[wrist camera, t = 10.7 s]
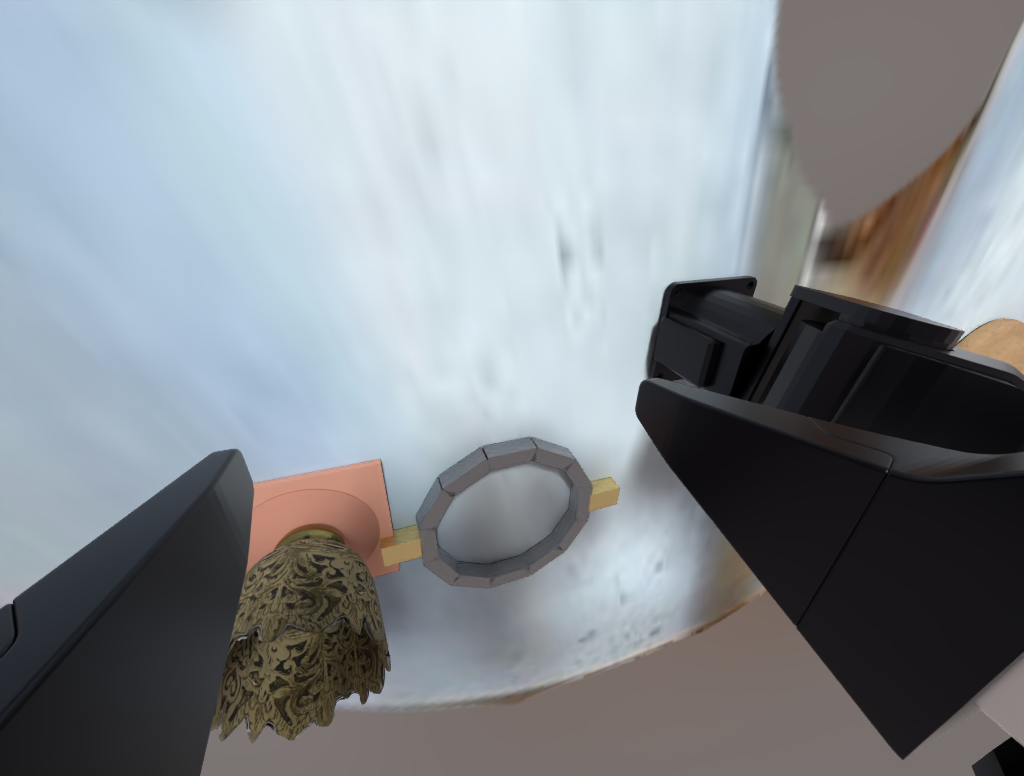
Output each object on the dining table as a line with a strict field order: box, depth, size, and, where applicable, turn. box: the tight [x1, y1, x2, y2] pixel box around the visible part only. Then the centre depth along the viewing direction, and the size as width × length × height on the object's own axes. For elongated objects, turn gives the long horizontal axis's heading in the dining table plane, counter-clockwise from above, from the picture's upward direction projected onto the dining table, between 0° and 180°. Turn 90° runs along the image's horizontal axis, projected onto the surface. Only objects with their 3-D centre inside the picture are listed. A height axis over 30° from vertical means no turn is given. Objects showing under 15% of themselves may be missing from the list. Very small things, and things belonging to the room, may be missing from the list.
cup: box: [210, 524, 391, 743], centre depth 20 cm, size 8×7×8 cm
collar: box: [380, 437, 620, 588], centre depth 28 cm, size 17×12×1 cm
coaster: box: [245, 459, 400, 578], centre depth 24 cm, size 9×9×1 cm
